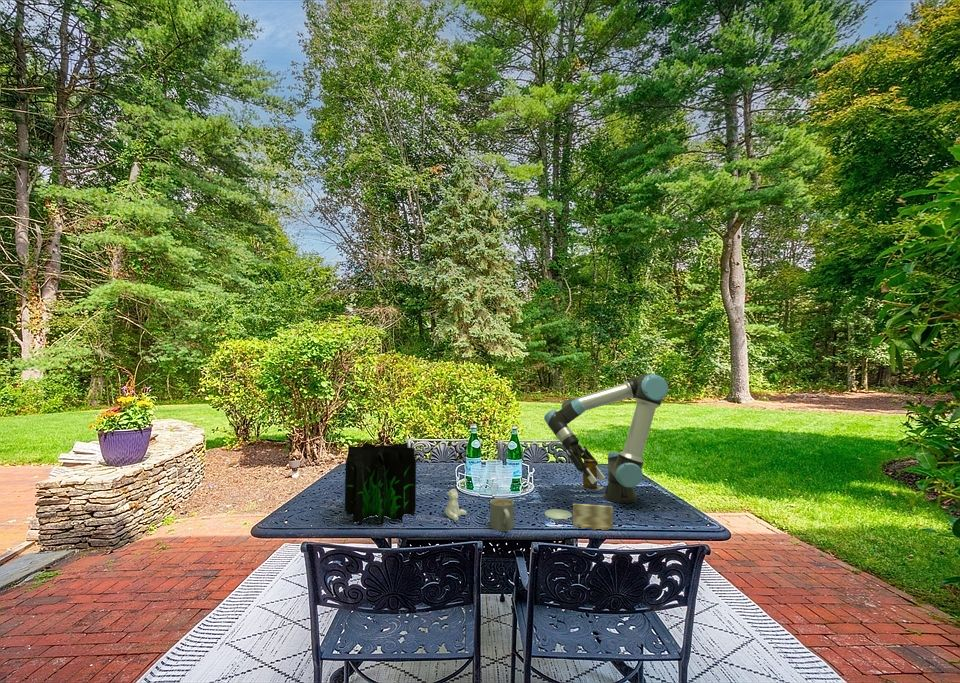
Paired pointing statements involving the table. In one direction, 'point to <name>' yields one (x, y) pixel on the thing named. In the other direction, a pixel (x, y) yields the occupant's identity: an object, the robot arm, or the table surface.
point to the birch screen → (593, 516)
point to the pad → (558, 514)
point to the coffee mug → (501, 514)
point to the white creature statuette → (454, 506)
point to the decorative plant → (380, 481)
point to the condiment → (593, 469)
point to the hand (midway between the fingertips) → (598, 480)
